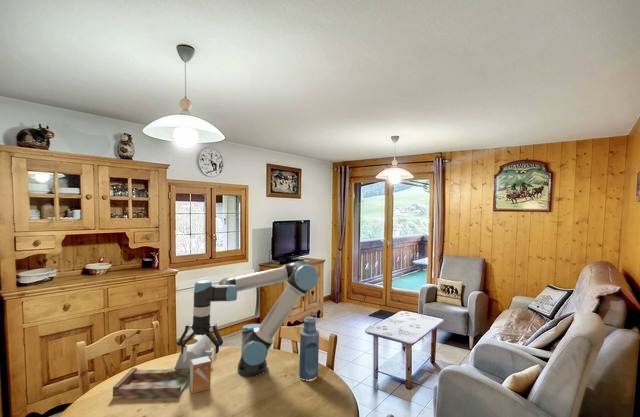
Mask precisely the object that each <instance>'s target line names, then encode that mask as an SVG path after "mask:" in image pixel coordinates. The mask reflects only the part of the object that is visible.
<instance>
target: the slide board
mask: <svg viewBox="0 0 640 417" xmlns="http://www.w3.org/2000/svg"><path fill="white" fill-rule="evenodd" d="M189 383H190V369H174V368H171V369H170V368H169V369H165V368H163V369H138V368H137V367H132V368H131V369H130V370H129V371H128V372H127V373H125V375H123V377H121V379H119V381H117V382H116V383H115V385H113V386H112V400H120V399H121V400H125V399H126V400H127V399H131V400H132V399H164V398H180V396H181V395H182V393H183V391H184V390H185V388H186V387H187V385H188V384H189Z"/></svg>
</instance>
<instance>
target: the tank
mask: <svg viewBox="0 0 640 417" xmlns="http://www.w3.org/2000/svg"><path fill="white" fill-rule="evenodd" d="M192 339H193V340H194V343H192V344H186V345H187V359H186V360H185V362H183V354H182V353H181V352H180V354H179V356H178V359H177V360H176V364H175V366H174V367H173V369H190V360H192V359H197V358H201V357H206V356H208V357H212V355H213V350H212V348H211V345H212V341H211V340H210V339H209V338H208V336H206V335H196V334H195V335H194V336H193V337H192Z"/></svg>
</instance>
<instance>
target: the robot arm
mask: <svg viewBox="0 0 640 417" xmlns="http://www.w3.org/2000/svg"><path fill="white" fill-rule="evenodd" d="M318 280H319V274H318V271H317V269H316V268H315V267H314V265H313V264H310V262H308V261H305V260H297V261H294V262H289V263H285V264H283V265H282V266H281V267H276V268H271V269H267V270H263V271H258V272H257V271H256V272H253V273H249V274H244V275H239V276H236V277H224V278H222V279H221V280H220V281H219V283H218V284H212V281H211V280H207V279H205V280H204V279H203V280H202V279H201V280H198V281H196V282H195V283H194V289H193V307H192V308H193V310H192V314H193V315H192V324H189V323H187V324H186V325H185V326H184V327H185V328H184V331H183V333H182V334H181V337H180V338H179V340H178V341H177V344H176V345H177V346H180V347H181V348H180V350H181V351H180V353H182V354H183V362H185V360H186V359H187V345H188V343H189V341H190V340H191V339H193V338H194V337H195V336H196V335H206V336H208V338H209V339H210V340H211V344H213V345H214V347H213V359H212V360H213V362H216V360H217V354H218V353H219V352H220V347H222V346H223V343H224V340H223V338H222V336H221V334H220V332H219V330H218V325H217V323H214V324H211V308H212V307H211V306H212V305H211V303H212V302H235V301H236V300H237V298H238V292H242V291H247V290H252V289H256V288H260V287H265V286H270V285H274V284H278V283H282V282H285V283H286V287H284V288H285V289H284V290H283V291H282V292H281V294H280V295H279V297H278V298H277V299H276V301H275V303H274V304H273V306H272V307H271V309H270V310H269V311H268V313H267V314H266V316H265V317H264V319H263V320H262V322H261V323H248V324H245V325H244V326H242V329H241V352H240V353H241V356H240V359H239V361H238V365H237V373H238V374H240V375H242V376H243V377H256V375H257V376H260V375H262V373H263V372H264V373H265V372H267V370H268V363H267V362H268V361H267V356H268V351H269V350H270V348H271V346H272V345H273V344H274V337H275V335H276V334H277V332H278V331H279V329H280V328H281V326H282V325H283V323H284V322H285V320H286V319H287V317H288V316H289V314H290V313H291V311H292V310H293V309H294V307H295V306H296V304H297V303H298V302H299V300H300V298H301V297H303V296H306V295H307V293H309V290H311V289H313V288H315V286H316V285H317V283H318ZM210 329H211V330H212V331H213V333H214V335H213V333H212V332H211V330H210ZM190 330H192V332H191V333H190V335H189V336H188V337H187V338H186V339H185V337H186V336H187V334H188V333H189V331H190ZM184 339H185V340H184ZM183 341H184V342H183ZM266 369H267V370H266ZM264 373H263V374H264ZM259 374H260V375H259Z"/></svg>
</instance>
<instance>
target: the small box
mask: <svg viewBox="0 0 640 417" xmlns="http://www.w3.org/2000/svg"><path fill="white" fill-rule="evenodd" d="M211 372H212V361H211V359H210V356H206V357H201V358H197V359H192V360H190V380H189V389H190V391H191V393H192V394H196V393H199V392H203V391H206V390H210V389H211V378H212V374H211Z"/></svg>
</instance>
